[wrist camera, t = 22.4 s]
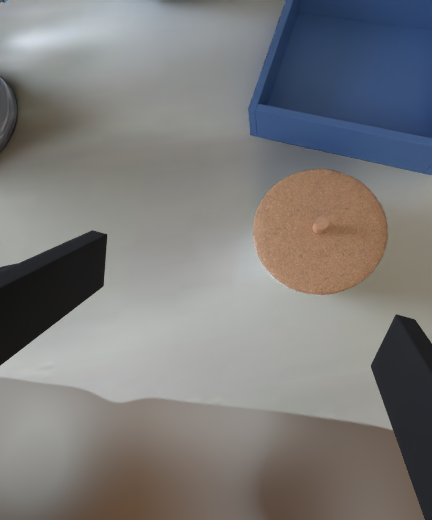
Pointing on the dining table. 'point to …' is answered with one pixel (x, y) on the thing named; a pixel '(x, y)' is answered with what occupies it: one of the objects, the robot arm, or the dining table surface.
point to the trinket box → (320, 232)
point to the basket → (350, 81)
